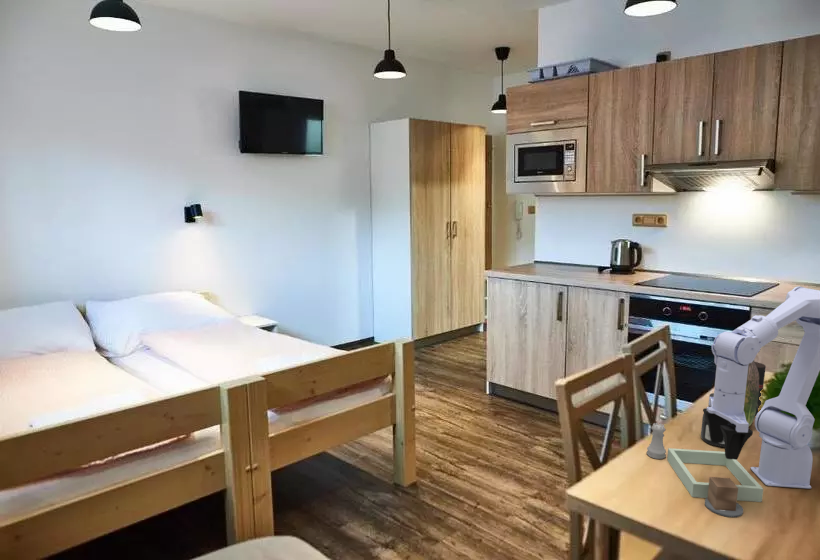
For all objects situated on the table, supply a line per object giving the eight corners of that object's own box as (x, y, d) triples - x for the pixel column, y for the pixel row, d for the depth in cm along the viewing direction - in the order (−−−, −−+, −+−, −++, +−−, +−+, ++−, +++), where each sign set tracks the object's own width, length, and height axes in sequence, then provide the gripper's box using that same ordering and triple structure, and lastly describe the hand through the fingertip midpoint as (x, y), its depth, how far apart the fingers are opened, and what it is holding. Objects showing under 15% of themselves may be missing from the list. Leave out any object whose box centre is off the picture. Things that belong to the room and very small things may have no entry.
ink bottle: (705, 447, 147) (709, 402, 145) (694, 432, 156) (698, 390, 154) (746, 450, 146) (751, 405, 144) (732, 435, 154) (737, 392, 152)
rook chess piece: (667, 460, 140) (670, 429, 138) (648, 458, 140) (650, 427, 139) (663, 452, 144) (666, 422, 143) (644, 450, 145) (647, 420, 143)
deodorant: (764, 417, 166) (770, 367, 164) (743, 417, 166) (749, 367, 164) (752, 409, 172) (758, 361, 170) (732, 409, 172) (737, 361, 170)
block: (727, 500, 121) (729, 478, 120) (735, 511, 117) (738, 488, 116) (707, 499, 121) (709, 476, 121) (714, 509, 118) (717, 486, 117)
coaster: (734, 500, 122) (734, 497, 122) (749, 518, 115) (749, 516, 115) (699, 497, 123) (699, 494, 123) (712, 515, 116) (712, 513, 116)
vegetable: (723, 423, 162) (731, 354, 159) (739, 420, 164) (747, 352, 161) (743, 432, 156) (751, 361, 153) (759, 428, 159) (767, 358, 155)
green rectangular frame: (728, 463, 138) (729, 452, 138) (761, 502, 122) (763, 488, 121) (667, 459, 140) (668, 448, 139) (692, 497, 123) (693, 484, 123)
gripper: (696, 377, 129) (691, 434, 131) (724, 401, 114) (718, 465, 117) (730, 378, 128) (724, 436, 130) (762, 403, 114) (755, 467, 116)
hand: (723, 450), depth 123 cm, fingers open, 7 cm apart
